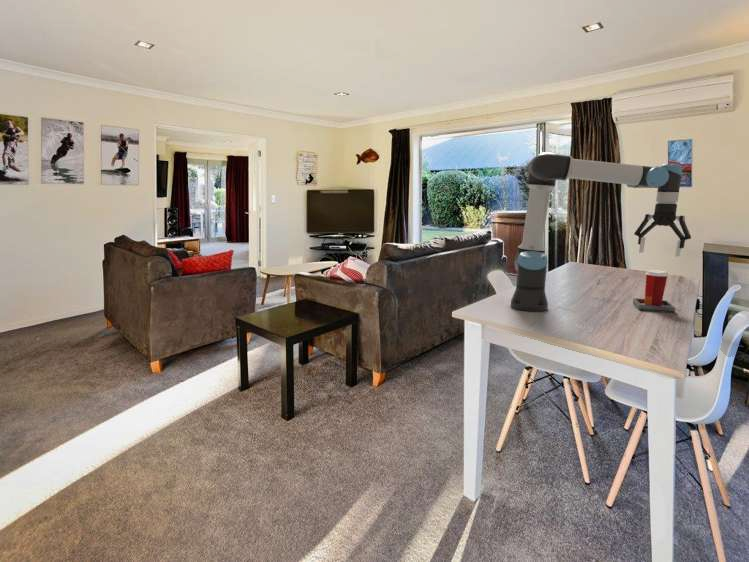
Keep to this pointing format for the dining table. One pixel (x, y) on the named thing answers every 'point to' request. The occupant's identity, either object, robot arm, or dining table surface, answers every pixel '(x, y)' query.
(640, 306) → the grey square tray
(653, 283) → the coffee cup
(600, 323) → the dining table surface
